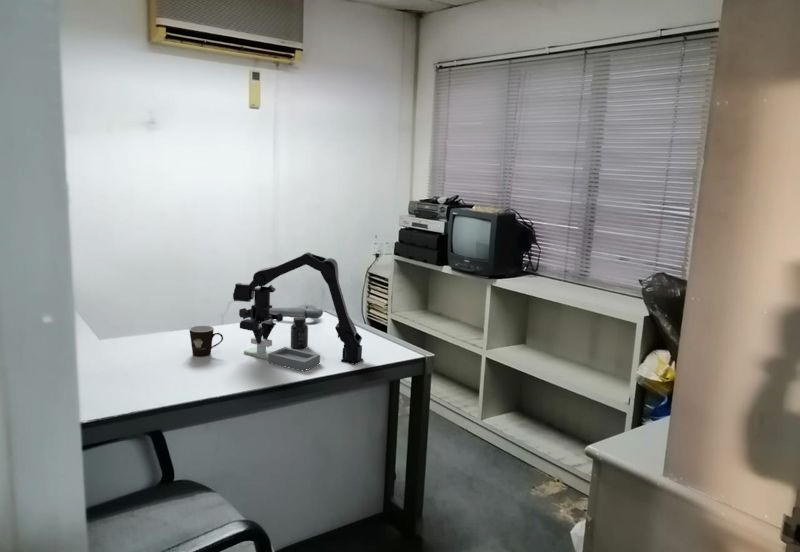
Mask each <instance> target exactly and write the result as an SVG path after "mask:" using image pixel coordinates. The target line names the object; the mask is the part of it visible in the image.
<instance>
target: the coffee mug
mask: <svg viewBox="0 0 800 552" xmlns="http://www.w3.org/2000/svg"><path fill="white" fill-rule="evenodd" d="M188 331H189V337H190V342H191V343H190V344H191V345H190V346H191V352H192V356H194V357H195V358H206V357H209V356H211V354H212V353H211V352H212V349H213V348H215V347H217V346H218V345H220V344H221V343H222V342H223V340H224V336H223V334H222V333H220V332H214V331H215V327H213V326H210V325H194V326H192V327H190V328H189V330H188ZM217 335H218V336H220V337H221V340H220V341H219V342H217V343H215V344H214V345H213V338H214V337H215V336H217Z"/></svg>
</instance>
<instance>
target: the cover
mask: <svg viewBox="0 0 800 552" xmlns="http://www.w3.org/2000/svg"><path fill="white" fill-rule="evenodd" d="M250 344H253V345H256V346H253V347H250V348H247V349H245V350H243V354H244V353H245V355H248V354H249V356H252V355H254V356H253V357H257V356H258V357H257V358H262V359H265V358H266V359H265V360H268V354H269V353H271V352H274V351H275V350H274V351H273V350H269V349H267V348H270V347H272V346H273V340H272V339H268V338H267V339H264V338H263V337H262V339H261V342H260V344H257V341H256V339H255V336H253V337H251V338H250Z"/></svg>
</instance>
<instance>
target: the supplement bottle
mask: <svg viewBox="0 0 800 552" xmlns="http://www.w3.org/2000/svg"><path fill="white" fill-rule="evenodd" d="M292 323H293V324H291V326H290V348H292V349H293V348H295V349H296V350H305V349H307V348H308V346H309V345H308V344H309V326H308V324H306V323H307V321H306V317H304V316H295V317H293V321H292ZM306 347H307V348H306ZM304 348H305V349H304Z"/></svg>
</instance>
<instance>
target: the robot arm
mask: <svg viewBox="0 0 800 552" xmlns="http://www.w3.org/2000/svg"><path fill="white" fill-rule="evenodd" d="M305 265H306V266H309V267H310V268H313V269H314V270H316V271H319V272H320V274H321V277H322V278H323V280H324V282H325V283H326V284H327V286H328V290H329V293H330V296H331V299H332V302H333V303H332V304H333V306H334V310H335V313H336V317H337V320H338V323H337V324H336V325H335V327H334V328H335V331H336V332H337V333H336V334H337V338H338V339H339V340H340V341H341V342H342V343H343V347H342V358H341V359H340V361H341V362H342V361H345V362H344V363H346V362H349V363H348V364H351V363H354V364H353V365H357V364H359V363H361V362H362V361H361V360H363V359H364V358H363V357H362V356H363V355H362V353H363V345H361V341H362V340H363V337H362V336H361V335H360V334H359V332H358V330H357V327H356V326H355V323H354V322H353V320H352V319H351V317H350V316H349V312H348V309H347V306H346V302H345V299H344V295H343V292H342V288H341V285H340V280H339V267H338V266H339V265H338V262H337V260H336V259H334V258H332V257H324V256H320V255H316V254H314V253H311V252H305V253H304V254H302V255H301V254H300V256H297V257H295V258H292V259H290V260H288V261H285V262H283V263H280V264H278V265H274V266H269V267H264V268H261V269H259V270H257V271H256V272H255V273H254V274H253V277H252V281H250V283H241V282H237V283H235V286H234V291H233V293H232V299H233V301H234V302H241V303H242V302H243V303H250V302H251V301H252V300H254V303H253V304H252V305H251V308H249V309H247V308H246V307H244V308H239V309H238V310H239V311H238V312H239V313H238V314H239V315H238V316H239V317H240V318H242V320H241V321H240V322H239V329H242V330H246V331H252V333H253V335H254V336H253V337H255V339H256V341H257V344H260V342H261V339H262V338H264V339H268V338H269V337H270V335H271V332H272V331H273V329H274V328H275V326H276V325H277V323H276V322H278V323H280V322H283V320H284V316H283V313H280V312H276V311H271V310H270V309H273V304H271V293H274V292H276V288H275V287H274V286H273V285H272V284H270V283H271V282H272V281H273V280H274V281H275V279H277V278H278V277H280V276H283V275H285V274H287V273H290V272H292V271H294V270H296V269H299V268H301V267H303V266H305ZM268 284H270V285H269V286H267V285H268ZM273 320H276V322H274V321H273ZM257 344H256V345H257ZM360 361H361V362H360ZM363 361H364V360H363ZM358 362H359V363H358ZM356 363H357V364H356Z"/></svg>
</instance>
